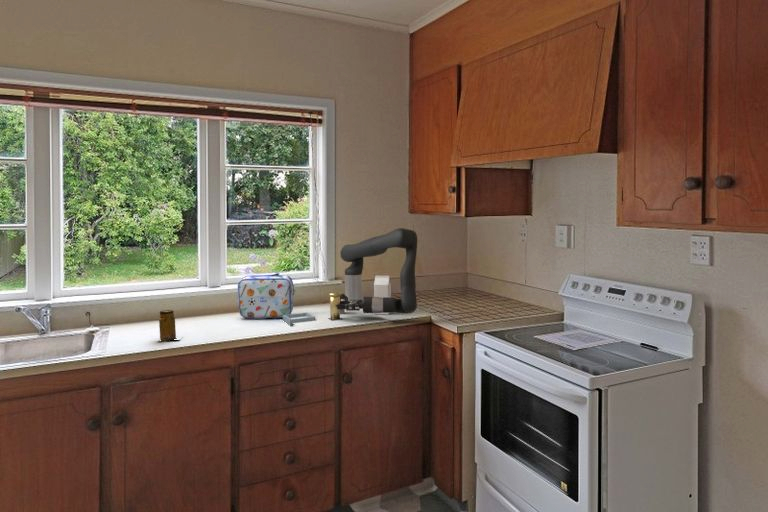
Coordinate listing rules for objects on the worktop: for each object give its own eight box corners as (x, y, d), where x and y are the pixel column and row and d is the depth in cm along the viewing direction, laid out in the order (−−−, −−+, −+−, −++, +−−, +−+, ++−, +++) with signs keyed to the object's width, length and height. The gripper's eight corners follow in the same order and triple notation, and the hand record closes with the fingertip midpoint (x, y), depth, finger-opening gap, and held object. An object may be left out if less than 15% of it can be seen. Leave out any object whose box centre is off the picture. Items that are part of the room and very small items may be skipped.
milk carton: (388, 315, 258) (387, 276, 256) (374, 314, 259) (373, 276, 257) (391, 312, 265) (390, 274, 263) (377, 311, 266) (376, 274, 264)
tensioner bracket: (317, 317, 253) (317, 294, 252) (344, 314, 259) (344, 292, 258) (331, 325, 237) (330, 300, 236) (359, 321, 243) (359, 297, 242)
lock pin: (328, 318, 244) (327, 292, 243) (338, 317, 247) (337, 292, 246) (332, 320, 240) (331, 294, 239) (342, 319, 242) (342, 293, 241)
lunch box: (297, 314, 262) (296, 270, 260) (295, 319, 251) (294, 273, 249) (241, 316, 260) (239, 272, 258) (237, 320, 250) (235, 274, 248)
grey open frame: (282, 321, 247) (282, 315, 246) (307, 318, 252) (307, 312, 252) (290, 326, 236) (289, 319, 236) (315, 323, 241) (315, 316, 241)
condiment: (161, 338, 218) (159, 309, 216) (182, 337, 219) (181, 308, 218) (157, 342, 210) (155, 313, 209) (179, 341, 212) (177, 312, 211)
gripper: (374, 294, 248) (340, 294, 249) (372, 299, 234) (336, 299, 235) (374, 310, 249) (340, 310, 250) (372, 316, 235) (336, 316, 236)
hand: (338, 305), depth 243 cm, fingers open, 8 cm apart
